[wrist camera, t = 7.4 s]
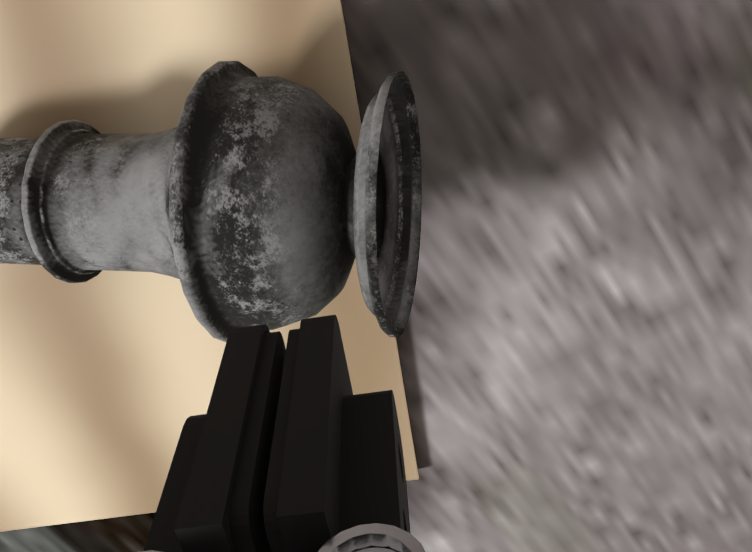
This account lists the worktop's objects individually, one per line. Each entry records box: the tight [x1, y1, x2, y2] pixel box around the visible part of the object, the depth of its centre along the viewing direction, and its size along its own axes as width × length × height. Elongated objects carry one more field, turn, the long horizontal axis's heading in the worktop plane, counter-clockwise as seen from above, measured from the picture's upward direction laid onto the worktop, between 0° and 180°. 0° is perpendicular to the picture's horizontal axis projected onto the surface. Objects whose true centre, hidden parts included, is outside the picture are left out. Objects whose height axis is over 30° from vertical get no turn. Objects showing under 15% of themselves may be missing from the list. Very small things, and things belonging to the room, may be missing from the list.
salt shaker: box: [0, 61, 422, 342], centre depth 16 cm, size 6×6×12 cm
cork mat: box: [0, 0, 419, 532], centre depth 19 cm, size 16×20×1 cm
